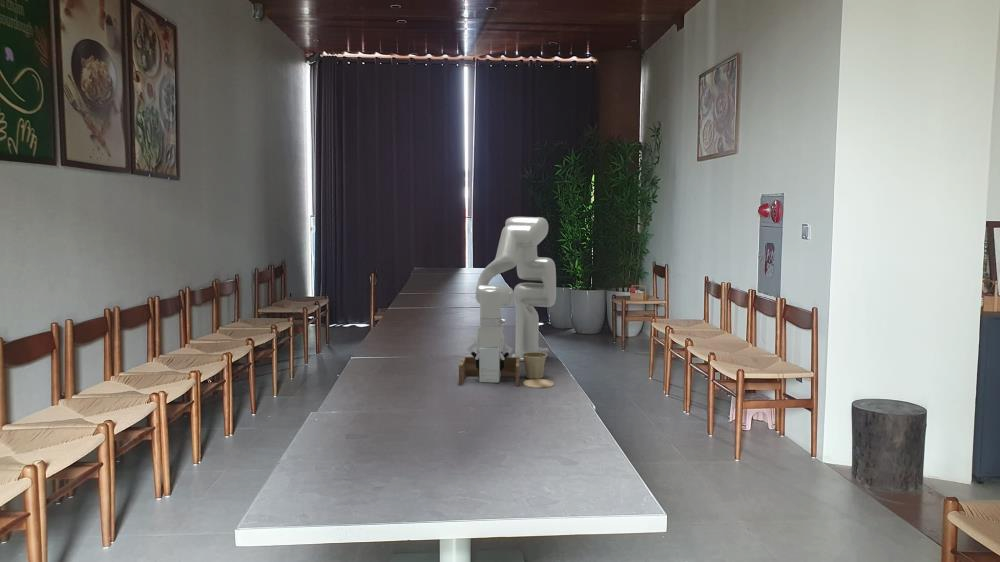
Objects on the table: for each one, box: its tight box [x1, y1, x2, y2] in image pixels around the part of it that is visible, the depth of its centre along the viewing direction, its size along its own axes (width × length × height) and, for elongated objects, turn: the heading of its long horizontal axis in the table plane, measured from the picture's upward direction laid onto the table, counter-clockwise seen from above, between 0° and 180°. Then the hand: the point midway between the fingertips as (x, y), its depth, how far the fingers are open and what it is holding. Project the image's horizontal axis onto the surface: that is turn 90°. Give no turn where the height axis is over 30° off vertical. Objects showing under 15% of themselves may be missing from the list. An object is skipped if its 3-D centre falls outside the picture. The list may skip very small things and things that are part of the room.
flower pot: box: [522, 352, 548, 380], centre depth 279 cm, size 9×9×9 cm
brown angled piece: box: [458, 356, 521, 387], centre depth 274 cm, size 15×21×7 cm
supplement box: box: [478, 348, 502, 384], centre depth 274 cm, size 7×7×13 cm
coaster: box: [523, 378, 555, 389], centre depth 269 cm, size 11×11×1 cm
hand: (490, 369), depth 274 cm, fingers closed on supplement box, 7 cm apart
